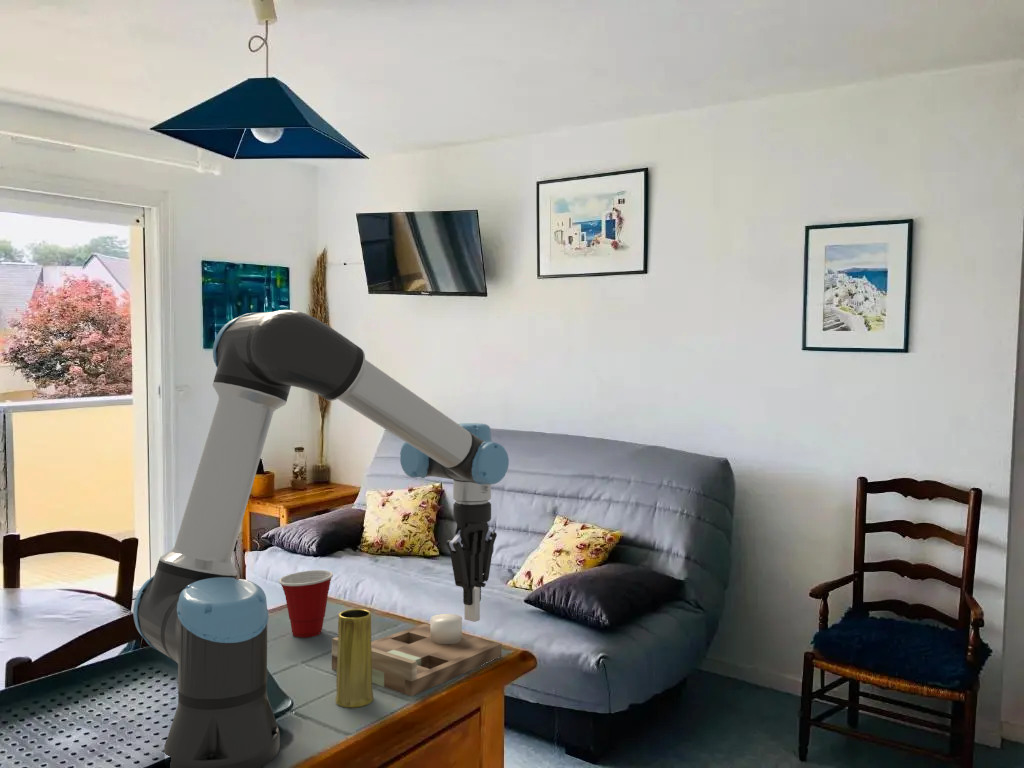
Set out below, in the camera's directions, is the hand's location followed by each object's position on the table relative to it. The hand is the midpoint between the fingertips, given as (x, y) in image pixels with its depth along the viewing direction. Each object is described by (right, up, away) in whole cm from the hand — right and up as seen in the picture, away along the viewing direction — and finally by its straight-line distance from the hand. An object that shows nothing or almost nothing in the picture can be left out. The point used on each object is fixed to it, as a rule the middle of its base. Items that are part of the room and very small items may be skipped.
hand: (472, 619), depth 162 cm
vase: (-18, -5, -29) cm, 35 cm away
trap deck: (-9, -5, -12) cm, 16 cm away
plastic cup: (-34, -4, +5) cm, 35 cm away
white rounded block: (-5, -2, -6) cm, 8 cm away
